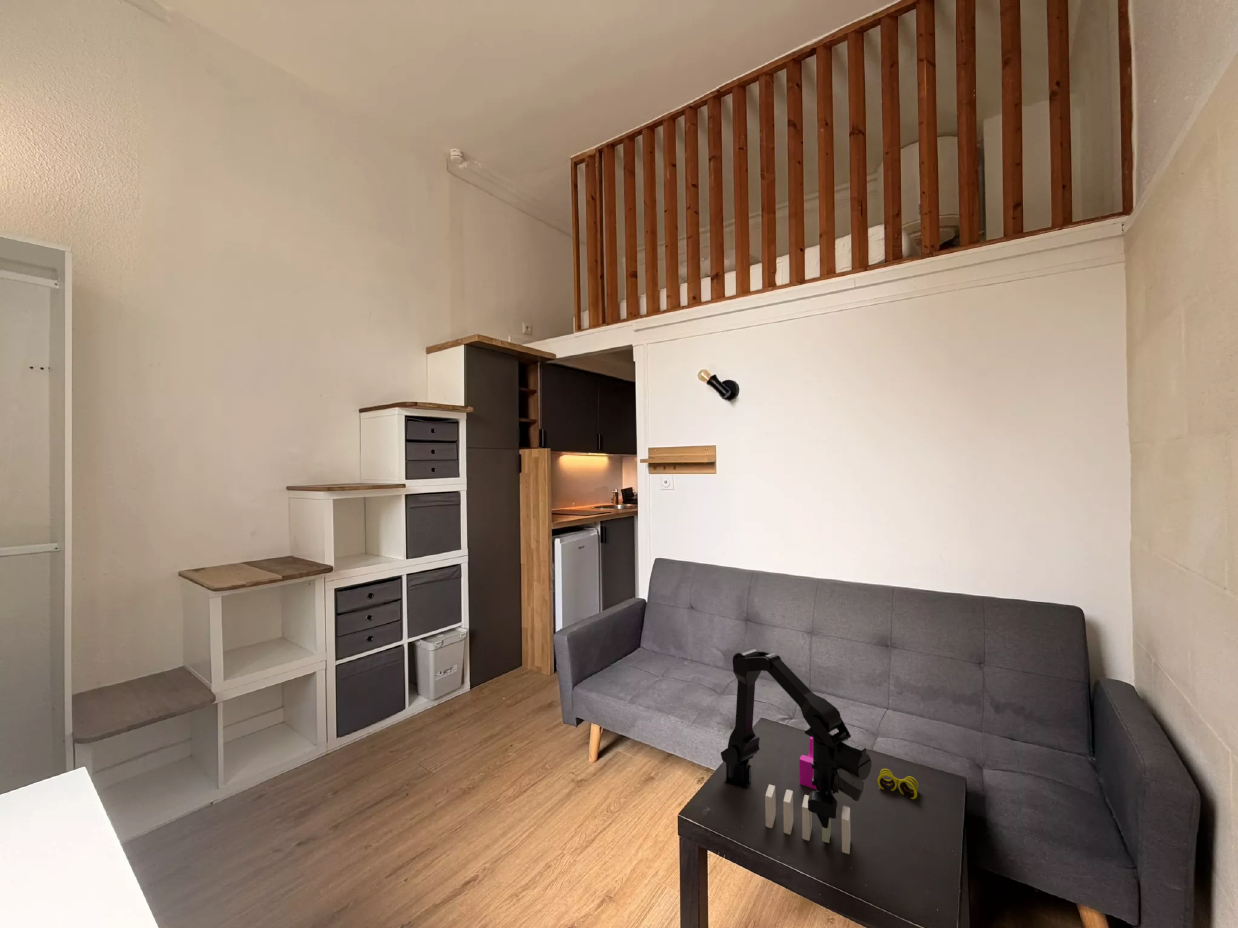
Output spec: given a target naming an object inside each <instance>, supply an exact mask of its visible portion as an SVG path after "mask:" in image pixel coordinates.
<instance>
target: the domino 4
mask: <svg viewBox="0 0 1238 928" xmlns="http://www.w3.org/2000/svg"><path fill="white" fill-rule="evenodd" d="M850 849H851V808H850V807H849V806H846V805H842V812H841V852H842V853H844V854H848V855H850V852H851V851H850Z"/></svg>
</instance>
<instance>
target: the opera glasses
mask: <svg viewBox="0 0 1238 928" xmlns="http://www.w3.org/2000/svg"><path fill="white" fill-rule="evenodd" d="M884 777H889V778H890V779H886V778H884ZM877 785H878V787H879V788H880V789H881V790H885V786H889V788H890V791H892V792H894V791H895V790H896V789H897V788H898V790H899V792H900V793H901V794H902V795H903V796H904V795H905V793H907V792H908V793H909V792H910V794H911V797H910V799H912V800H915V799H917V797H918V788H919V783H918V781H917V780H916V779H915V778H914V777H913V776H909V775H908V776H906V777H905V778H902V779H900V778H897V777H895V776H894V774H893V772H892V771H891V770H890V769H888V768H882V769H881V770H880V772H879V776H878V777H877Z"/></svg>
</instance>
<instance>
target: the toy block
mask: <svg viewBox="0 0 1238 928" xmlns="http://www.w3.org/2000/svg"><path fill="white" fill-rule="evenodd" d="M800 755H801V756H800V757H799V759H798V760H799V784H800V785H802V786H806V787H809V788H811V789H813V790H817V789H816V786H814V785H812V779H813V768H812V761H813V738H812V737H811V736H809V746H808V754H807V755H804V754H800Z"/></svg>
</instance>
